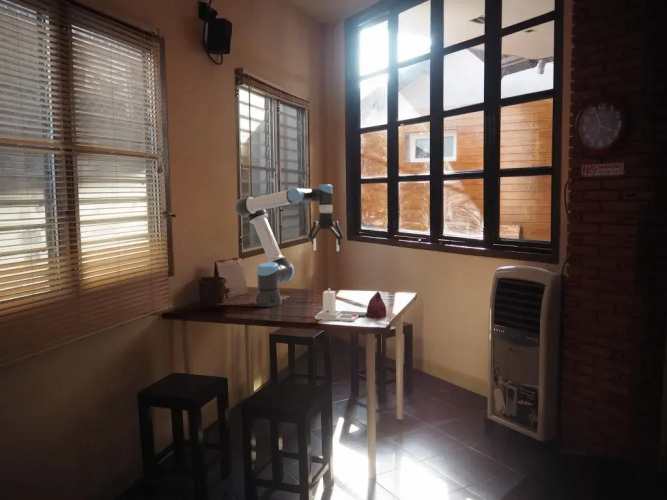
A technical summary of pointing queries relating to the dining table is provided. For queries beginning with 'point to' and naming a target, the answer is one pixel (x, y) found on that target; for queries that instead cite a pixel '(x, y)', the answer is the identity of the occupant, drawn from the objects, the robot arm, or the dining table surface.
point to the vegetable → (376, 307)
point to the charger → (329, 302)
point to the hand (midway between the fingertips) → (326, 250)
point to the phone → (361, 314)
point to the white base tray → (337, 316)
